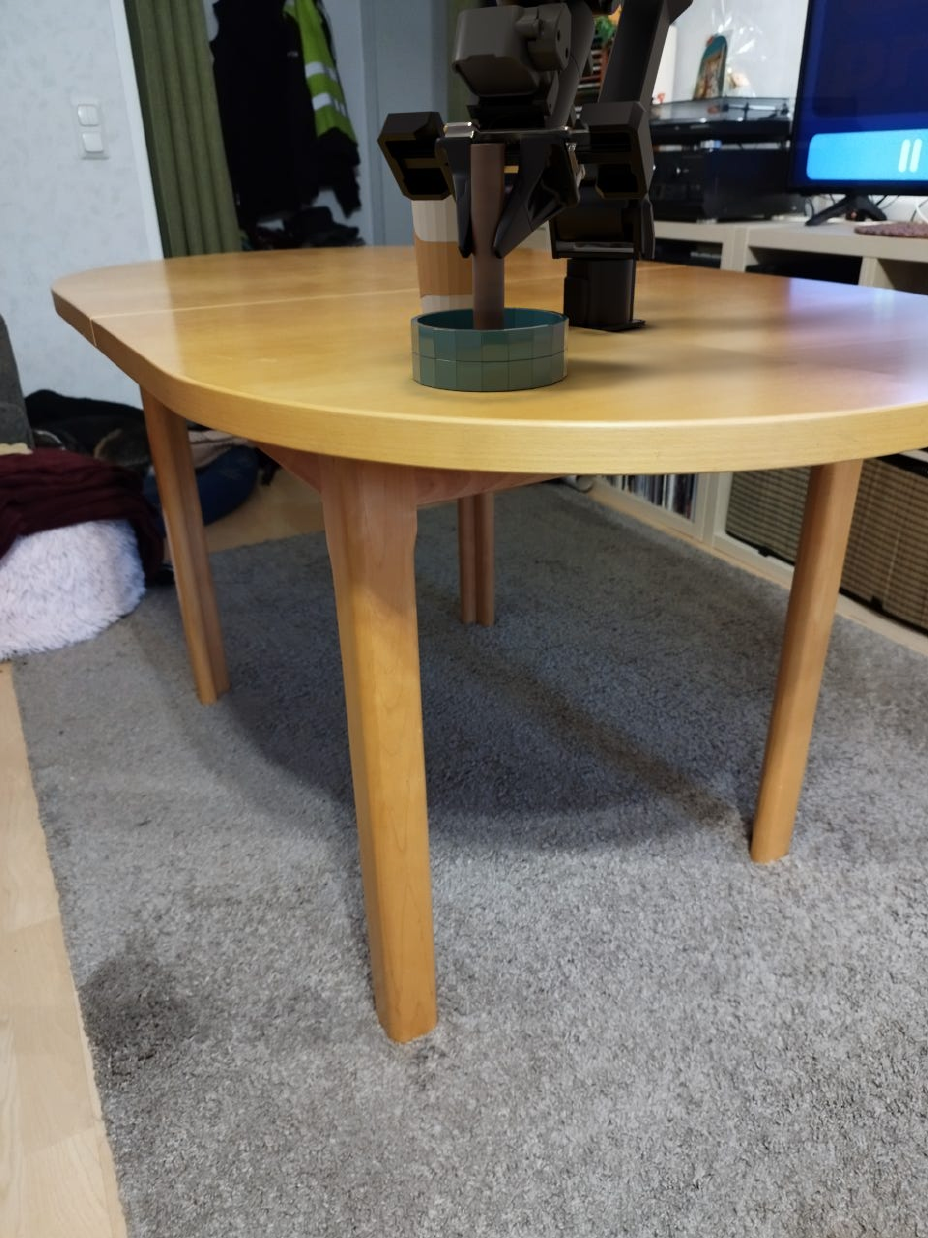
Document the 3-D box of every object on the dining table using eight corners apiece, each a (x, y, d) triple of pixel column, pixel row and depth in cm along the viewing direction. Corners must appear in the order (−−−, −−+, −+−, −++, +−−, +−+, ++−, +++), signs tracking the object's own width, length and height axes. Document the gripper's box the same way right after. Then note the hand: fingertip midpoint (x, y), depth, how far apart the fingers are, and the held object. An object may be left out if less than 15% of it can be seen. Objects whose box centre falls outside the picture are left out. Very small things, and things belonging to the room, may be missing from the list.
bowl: (497, 362, 71) (497, 303, 69) (597, 383, 64) (601, 317, 62) (383, 382, 65) (380, 318, 63) (479, 408, 58) (478, 336, 56)
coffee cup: (493, 340, 81) (492, 153, 74) (404, 338, 82) (395, 155, 75) (507, 325, 88) (507, 154, 81) (425, 324, 89) (419, 156, 83)
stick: (492, 363, 67) (491, 144, 60) (532, 371, 64) (535, 142, 57) (446, 371, 64) (439, 144, 58) (485, 381, 61) (483, 142, 55)
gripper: (381, -25, 60) (305, 161, 56) (657, -57, 53) (592, 153, 49) (437, 115, 70) (376, 281, 66) (675, 103, 62) (623, 289, 59)
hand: (479, 254), depth 59 cm, fingers closed on stick, 2 cm apart
